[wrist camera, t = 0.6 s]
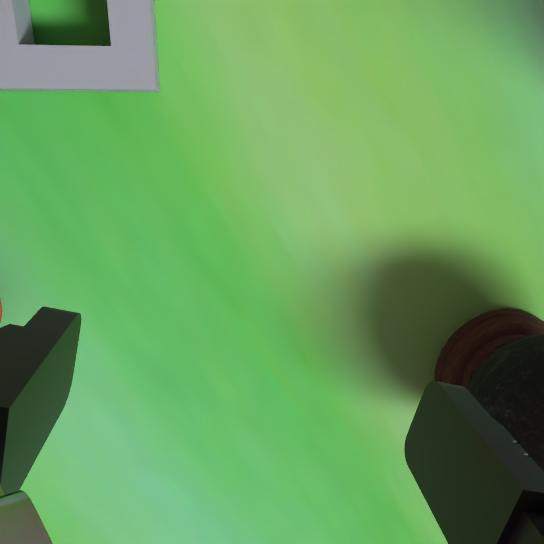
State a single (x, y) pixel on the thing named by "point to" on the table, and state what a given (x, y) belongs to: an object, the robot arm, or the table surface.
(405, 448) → the robot arm
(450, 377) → the dark ball
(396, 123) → the table surface
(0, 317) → the apple
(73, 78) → the socket block
